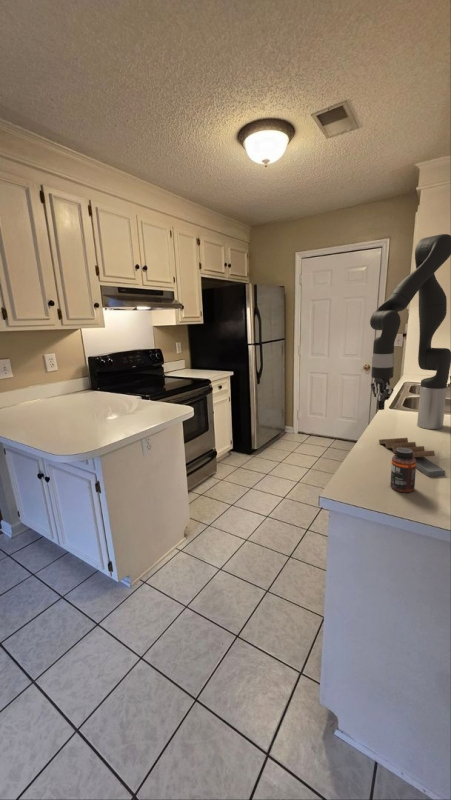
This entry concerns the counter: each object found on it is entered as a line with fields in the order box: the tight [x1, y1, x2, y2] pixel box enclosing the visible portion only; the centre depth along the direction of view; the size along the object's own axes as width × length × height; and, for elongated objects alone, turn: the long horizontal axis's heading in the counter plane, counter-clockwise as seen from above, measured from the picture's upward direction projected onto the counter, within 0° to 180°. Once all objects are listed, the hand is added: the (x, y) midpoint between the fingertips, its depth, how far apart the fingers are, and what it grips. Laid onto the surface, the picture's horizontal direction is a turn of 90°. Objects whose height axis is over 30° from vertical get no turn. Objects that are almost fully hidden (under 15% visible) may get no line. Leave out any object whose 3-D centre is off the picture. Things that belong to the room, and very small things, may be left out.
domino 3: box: [391, 445, 426, 454], centre depth 110 cm, size 2×5×10 cm
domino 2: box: [385, 441, 417, 449], centre depth 114 cm, size 2×5×10 cm
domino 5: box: [414, 457, 446, 478], centre depth 101 cm, size 2×5×10 cm
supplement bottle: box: [389, 448, 417, 493], centre depth 90 cm, size 6×6×11 cm
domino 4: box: [413, 450, 436, 458], centre depth 105 cm, size 2×5×10 cm
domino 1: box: [378, 437, 409, 445], centre depth 118 cm, size 2×5×10 cm
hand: (380, 409), depth 127 cm, fingers closed
